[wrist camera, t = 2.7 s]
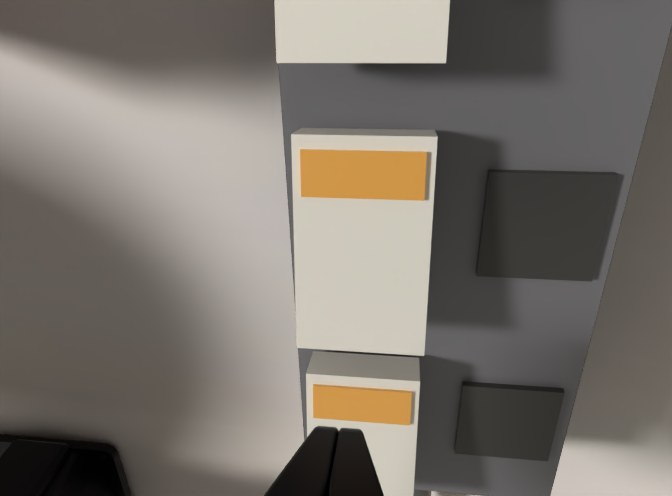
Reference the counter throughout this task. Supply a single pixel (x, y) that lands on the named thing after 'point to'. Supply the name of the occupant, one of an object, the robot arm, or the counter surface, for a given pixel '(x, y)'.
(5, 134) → the counter surface
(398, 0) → the block
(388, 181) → the block
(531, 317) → the power strip
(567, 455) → the counter surface
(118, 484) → the robot arm
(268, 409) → the counter surface
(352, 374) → the block
